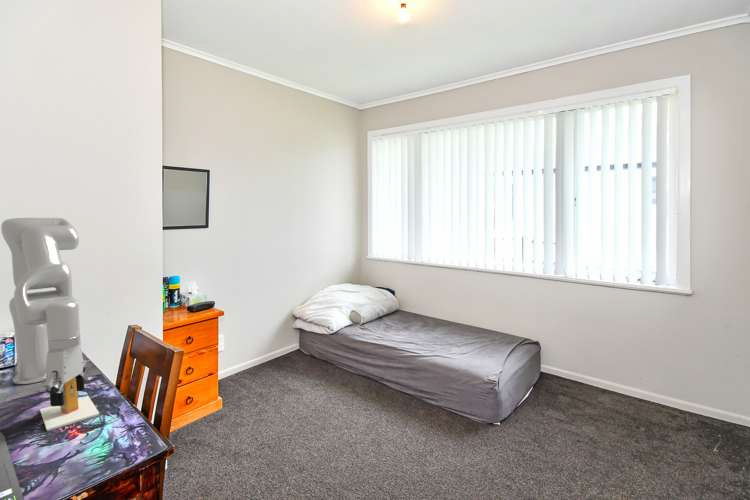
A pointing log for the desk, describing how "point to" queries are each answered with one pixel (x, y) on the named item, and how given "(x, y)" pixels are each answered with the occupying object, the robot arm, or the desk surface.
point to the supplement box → (69, 396)
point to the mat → (59, 419)
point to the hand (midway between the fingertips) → (68, 397)
